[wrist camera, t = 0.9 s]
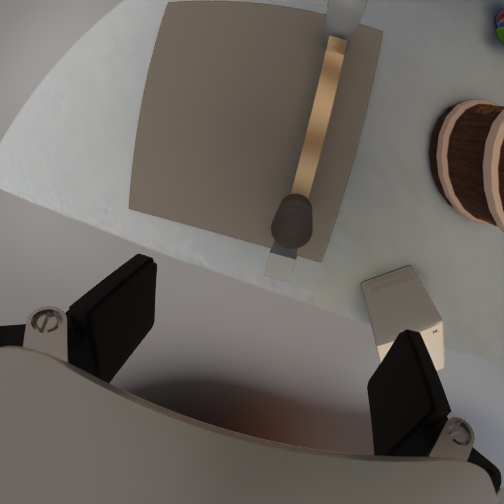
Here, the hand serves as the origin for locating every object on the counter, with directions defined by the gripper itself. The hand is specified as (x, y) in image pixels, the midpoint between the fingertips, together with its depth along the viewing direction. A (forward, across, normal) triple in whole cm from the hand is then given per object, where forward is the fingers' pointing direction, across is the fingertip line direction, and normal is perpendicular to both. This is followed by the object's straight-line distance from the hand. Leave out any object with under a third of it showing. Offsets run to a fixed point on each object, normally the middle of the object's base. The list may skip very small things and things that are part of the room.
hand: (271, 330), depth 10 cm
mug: (+25, -23, -13) cm, 36 cm away
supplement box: (+26, -16, +9) cm, 31 cm away
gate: (+24, 0, -7) cm, 25 cm away
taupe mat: (+25, +8, -8) cm, 28 cm away
